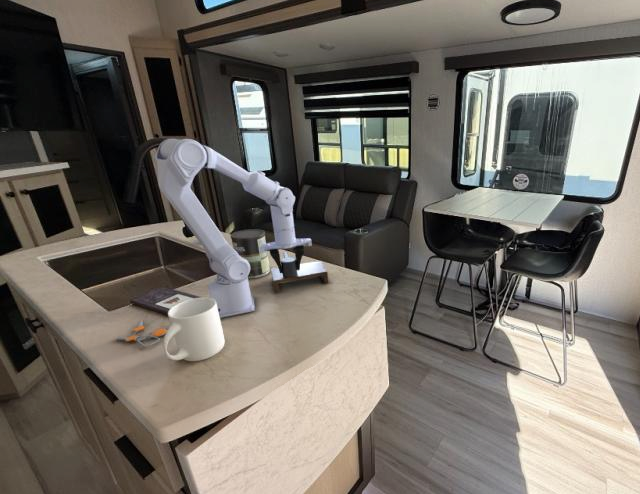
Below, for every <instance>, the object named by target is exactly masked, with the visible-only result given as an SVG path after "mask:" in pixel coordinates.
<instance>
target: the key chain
mask: <svg viewBox="0 0 640 494" xmlns="http://www.w3.org/2000/svg"><path fill="white" fill-rule="evenodd" d="M145 328H146V327H145V325H144V320H141V321H139V322H138V324H137V327H135V328H133V331H134V333H133V334H132V335H130V336H117V338H116V340H119V341H125V342H131V341H135V342H137V343H138V344H140V345H141V346H142V347H144V348H148V347H150V346H152V345H155V344H156V343H158V342H159V341H160V340H161V338H160V337H163V336H165V335H166V332H167V331H168V328H159V329H157V330H154V331H152V332H151V333H150V334H144V333H139V334H137V333H138V332H139V331H142V330H144V329H145ZM147 338H148V339H152V338H154V339H157V340H155V341H153V342H151V343H149V344H144V343H143V342H142V341H144V340H146V339H147Z"/></svg>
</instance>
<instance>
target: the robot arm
mask: <svg viewBox="0 0 640 494" xmlns="http://www.w3.org/2000/svg"><path fill="white" fill-rule="evenodd" d="M154 158H155V161H156V166H157V184H158V188H159V189H160V192H161V193H162V194H163V196H164V197H165V198H166V199H167V201H168V202H169V203H170V205H171V206H172V208H173V209H174V211H176V213H177V214H178V215H179V217H180V218H181V219H182V221H183V222H184V224H185V225H186V226H187V227H188V229H189V231H191V233H192V234H193V235H194V237H195V238H196V239H197V241H198V242H199V244H200V245H201V246H202V248H203V249H204V250H205V256H206V257H207V259H208V261H209V267H210V270H212V272H214V273H216V279H215V280H212V281H211V280H210V281H209V282H208V293H209V298H212V299H214V300H215V301H216V304H217V308H218V313H219V317H220V319H223V318H227V317H231V316H232V317H233V316H236V315H241V314H246V313H252V312H254V311H255V310H256V309H255V299H254V296H252V293H251V289H250V283H249V279H248V275H249V273H250V264H249V262H248V261H247V260H246V259H244V258H242V257H240V256H239V254H238V253H237V252H236V251H235V250H234V249H233V246H231V245H230V244H229V243H228V241H227V240H226V239H225V237H224V236H223V234H222V233H221V231H220V229H219V228H218V227H217V226H216V224H215V222H214V221H213V220H212V218H211V216H210V215H209V214H208V212H207V210H206V209H205V208H204V206H203V205H202V203H201V202H200V200H199V199H198V197H197V195H196V194H195V193H194V192H193V190H192V189H191V186H192V183H193V181H194V179H195V176H196V175H197V174H198V173H199V172H200V171H201V170H202V169H203V168H204V169H212V170H215V171H216V172H219V173H221V174H223V175H225V176H227V177H229V178H231V179H233V180H235V181H237V182H239V183H241V185H242V187H243V190H244V191H245V192H248V193H250V194H251V195H253V196H255V197H257V198H259V199H261V200H263V201H264V202H265V203H266V204H267V205H269V207H270V214H271V220H272V228H273V235H274V241H271V242H266V244H261V245H259V246H260V252H261V253H264V252H266V251H267V252H269V255H270V257H271V258H272V259H273V261H274V262H275V264H276V266H277V268H279V271H280V273H283V272H282V267H281V254H280V251H279V250H286V249H293V250H294V256H295V257H294V258H296V265H297V271H298V270H300V264H301V263H302V258H303V255H304V253H305V247H312V246H313V244H312V243H313V242H312V239H311V238H310V237H307V238H296V231H295V222H294V214H293V212H294V209H293V208H294V205H295V201H296V196H295V195H294V194H293V192H292V190H291V189H290V188H288V187H284V186H281V185H280V182H278V181H277V180H272V179H270V178H269V177H266V173H265V172H263V171H259V170H257V171H256V170H253V171H252V170H251V171H247V170H246V169H244V168H242V167H241V166H239V164H236V163H235V162H233V161H231V160H230V159H228V158H227V157H225V156H224V155H222V154H221V153H219V152H217V151H216V150H214V149H213V148H211V147H209V146H207V145H204V144H201V143H200V142H199V141H197V140H194V139H192V138H184V139H178V138H167V139H164V140H163V141H161V142H160V144H159V146H158V148H157V150H156V152H155V155H154Z"/></svg>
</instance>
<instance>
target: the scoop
mask: <svg viewBox="0 0 640 494" xmlns="http://www.w3.org/2000/svg"><path fill="white" fill-rule="evenodd" d="M282 254H283V258H280V262H281V267H282V272H283V273H282V275H283V277H286V278H290V277H294V276H296V275H297V274H298V273H297V265H296V257H293V256H289V253H288V252H283V253H282Z"/></svg>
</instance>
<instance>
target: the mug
mask: <svg viewBox="0 0 640 494" xmlns="http://www.w3.org/2000/svg"><path fill="white" fill-rule="evenodd" d="M167 316H168V320H169V323H170V326H169V328H167V330H168V331H167V332H166V334H165V335H164V337H163V341H162V343H163V344H162V345H163V346H162V347H163V351H164V353H165V356H166V357H167V358H168V359H169V360H171V361H181V360H185V361H187V362H199V361H203V360H207V359H209V358H211V357H213V356H214V357H215V356H216V355H217V354H218V353H219V352H221V351H222V349H223V348H224V346H225V343H226V342H225V335H224V331H223V326H222V321H221V318H220V317H219V313H218V308H217V304H216V301H215V300H214V299H212V298H210V297H202V298H195V299H190V300H187V301H184V302H181V303H179V304H177V305H175V306H173V307H172V308H171V309H170V310H169V311H168V315H167ZM173 337H174V340H175V344H176V348H177V350H178V352H177V353H176V354H174V355H173V354H170V353H169V352H168V344H169V342H170V340H171V339H172V338H173Z"/></svg>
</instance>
